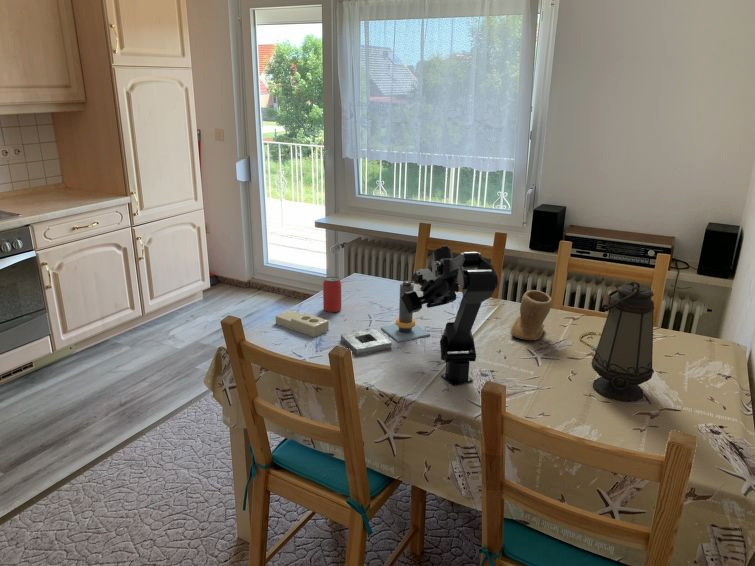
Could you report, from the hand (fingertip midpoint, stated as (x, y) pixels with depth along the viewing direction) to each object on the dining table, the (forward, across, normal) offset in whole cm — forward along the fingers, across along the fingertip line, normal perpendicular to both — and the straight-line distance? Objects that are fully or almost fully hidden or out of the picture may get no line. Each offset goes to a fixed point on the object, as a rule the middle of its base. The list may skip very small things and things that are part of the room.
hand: (416, 309), depth 175 cm
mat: (+11, 0, +3) cm, 11 cm away
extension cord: (-18, -46, +34) cm, 60 cm away
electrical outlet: (+28, +26, -13) cm, 40 cm away
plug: (+10, 0, +3) cm, 11 cm away
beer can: (+33, +9, -19) cm, 39 cm away
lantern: (-33, -23, +48) cm, 63 cm away
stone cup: (-6, -34, +21) cm, 40 cm away
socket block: (+11, +16, +3) cm, 20 cm away
